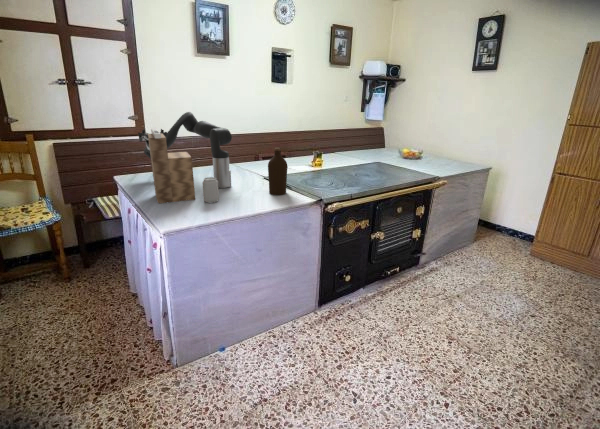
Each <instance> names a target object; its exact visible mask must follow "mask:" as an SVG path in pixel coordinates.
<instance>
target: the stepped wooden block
mask: <svg viewBox="0 0 600 429" xmlns="http://www.w3.org/2000/svg"><path fill="white" fill-rule="evenodd" d="M148 140H149V148H150V156H151V159H150V164H151V170H152V177H153V186H154V193H155V194H154V195H155V198H156V201H157V204H158V203H159V204H167V202H168V203H175V202H185V201H193V200H196V191H195V189H196V188H195V180H194V169H193V168H194V167H193V157H192V156H191V155H190V153H189V152H188V151H178V152H177V151H176V152H175V151H174V152H168V149H167V144H166V137H165V136H164V135H163V133H161V138H155V137H154V136H153V134H152V133H149V134H148Z"/></svg>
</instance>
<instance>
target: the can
mask: <svg viewBox="0 0 600 429" xmlns="http://www.w3.org/2000/svg"><path fill="white" fill-rule="evenodd" d="M202 192H203V201H204V202H205V203H208V204H214V203H218V201H219V200H220V194H219V188H218V181H217V180H216V178H214V176H211V177H210V176H208V177H204V178H203V180H202Z"/></svg>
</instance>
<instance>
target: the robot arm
mask: <svg viewBox="0 0 600 429" xmlns="http://www.w3.org/2000/svg"><path fill="white" fill-rule="evenodd" d="M182 126H183V127H184V129H185V130H186V131H188V132H189V133H194V134H196V135H198V136H200V137H203V138H204V139H209V141H210V150H211V156H212V166H213V167H212V171H213V177H214V178H216V180H217V181H218V189H226V188H230V187H232V175H231V174H232V171H231V170H230V153H229V151H227V150H223V149H221V146H226V145H228V144H230V143H231V141H232V133H231V132H230V130H229V129H228V128H226V127H221V126H218V125H216V124H212V123H210V122H208V121H206V120H199V121H198V120H197V118H196V116H195V115H194V113H192V112H191V111H186V112H184V113H183V114H182V115H181V116H180V117H179V118H178V119H177V120H176V121H175V122H174V124H173V125H172V126H171V128H169V130H168V131H164V129H162V128H160V131H159V132H160V134H161V133H163V135H164V136H165V137H166V144H167V150H168V149H169V148H170V147H171V146H172V145H173V144H174V143H175V142H176V140H177V138H178V135H179V131H180V129H181V127H182ZM148 134H150V133H149V132H146V130H145V128H143V129H142V130H141V132H138V139H139V142H143V141H145V148H144V149H143V153H144V154H145V155H146V157H148V158H149V159H150V160H151V156H150V148H149V140H148Z"/></svg>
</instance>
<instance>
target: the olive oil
mask: <svg viewBox="0 0 600 429" xmlns="http://www.w3.org/2000/svg"><path fill="white" fill-rule="evenodd" d="M281 151H282V148H281V147H274V152H273V153H274V155H273V156H272V157H271V158H270V159H269V160H268V163H267V171H268V174H267V175H268V190H269V191H268V193H269V194H270V195H272V196H283V195H286V194H287V180H288V178H287V177H288V163H287V161H286V159H285V158H284V157H283V156H282V152H281Z"/></svg>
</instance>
